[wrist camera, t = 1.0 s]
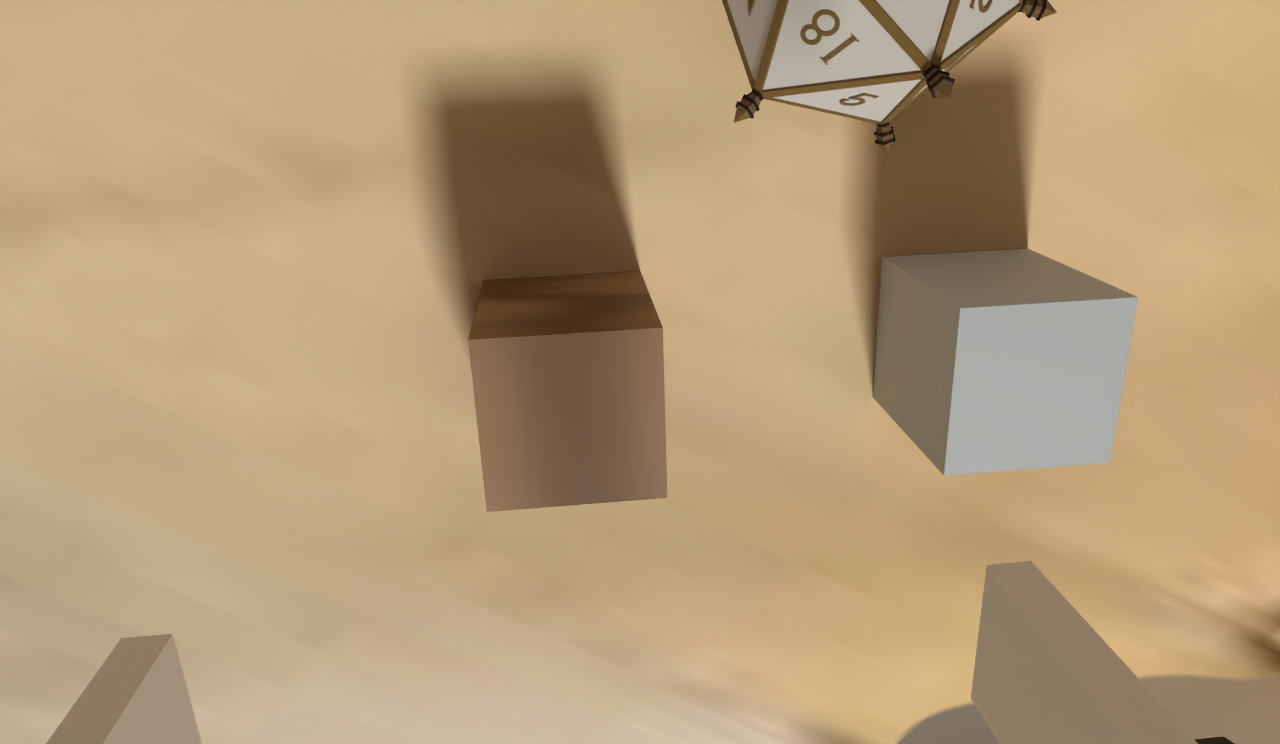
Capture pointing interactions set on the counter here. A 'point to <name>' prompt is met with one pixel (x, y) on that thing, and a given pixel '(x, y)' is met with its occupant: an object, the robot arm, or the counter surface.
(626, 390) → the walnut block
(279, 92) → the counter surface
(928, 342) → the grey-blue block
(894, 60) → the game die
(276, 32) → the counter surface
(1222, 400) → the counter surface
